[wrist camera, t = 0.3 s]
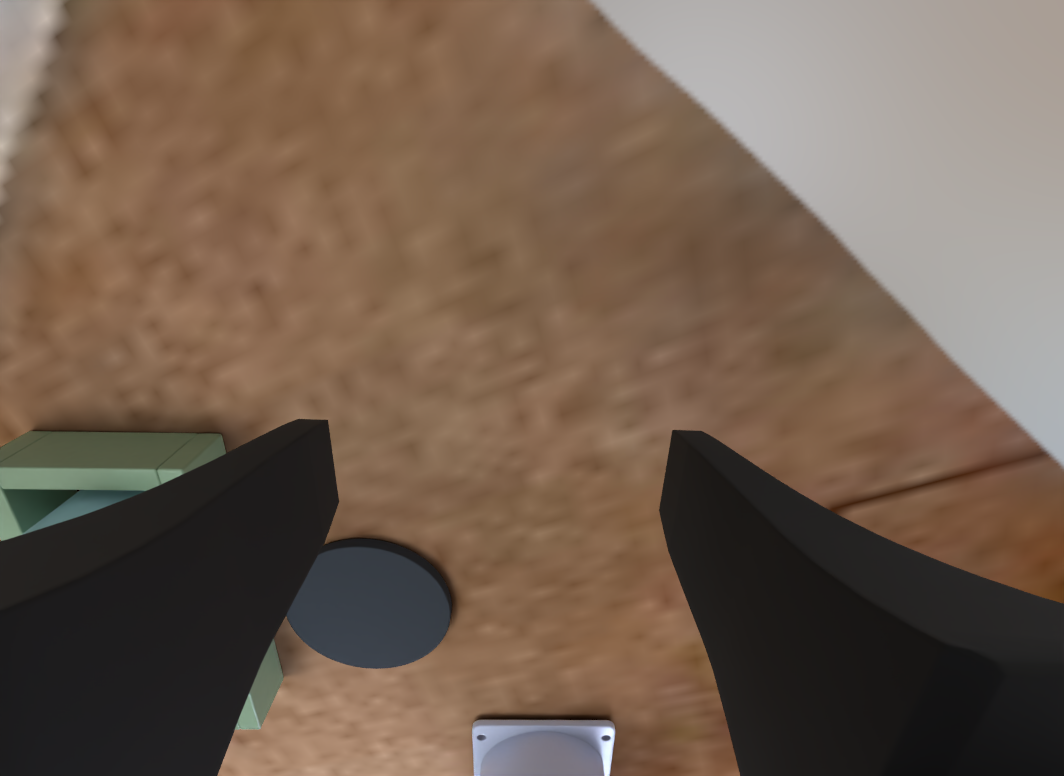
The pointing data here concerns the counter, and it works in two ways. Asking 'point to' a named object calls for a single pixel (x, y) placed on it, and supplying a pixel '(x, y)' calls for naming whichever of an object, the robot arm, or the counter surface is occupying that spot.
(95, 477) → the bottle rack
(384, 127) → the counter surface
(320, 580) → the coaster
